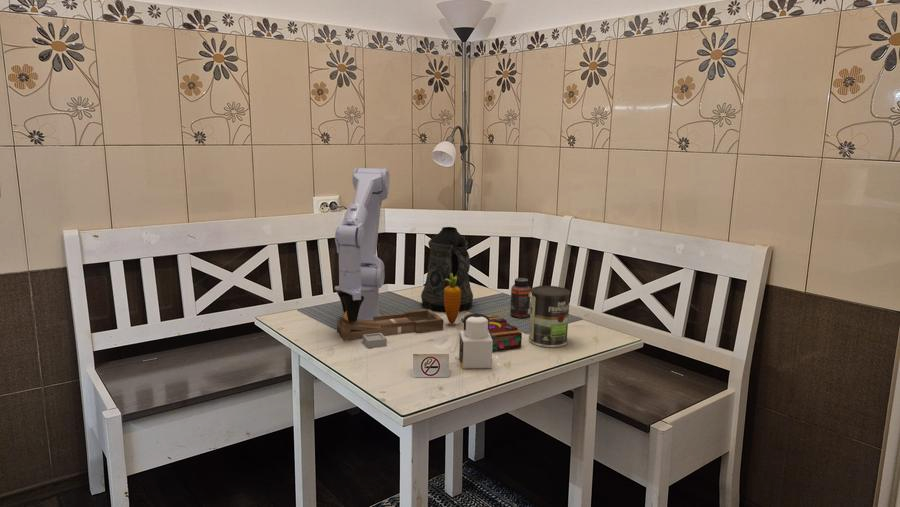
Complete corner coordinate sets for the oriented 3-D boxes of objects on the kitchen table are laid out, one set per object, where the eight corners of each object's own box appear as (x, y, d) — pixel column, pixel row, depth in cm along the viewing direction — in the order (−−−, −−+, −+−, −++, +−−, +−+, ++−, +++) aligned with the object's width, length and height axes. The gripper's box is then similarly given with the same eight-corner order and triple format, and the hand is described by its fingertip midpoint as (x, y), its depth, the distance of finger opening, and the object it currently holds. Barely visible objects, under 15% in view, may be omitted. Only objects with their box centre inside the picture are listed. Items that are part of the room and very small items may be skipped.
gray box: (362, 341, 160) (362, 334, 159) (381, 339, 162) (381, 332, 161) (367, 348, 155) (367, 341, 155) (386, 345, 157) (386, 338, 157)
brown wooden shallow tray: (335, 329, 169) (335, 315, 168) (429, 318, 180) (429, 305, 179) (344, 342, 159) (344, 327, 158) (443, 329, 170) (443, 316, 169)
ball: (342, 320, 165) (342, 308, 165) (355, 319, 167) (355, 307, 166) (345, 324, 162) (345, 311, 161) (358, 323, 163) (358, 310, 163)
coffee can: (575, 344, 161) (578, 293, 158) (543, 350, 156) (546, 297, 154) (551, 332, 170) (554, 283, 167) (521, 337, 165) (523, 287, 162)
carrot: (458, 328, 172) (459, 276, 169) (441, 326, 173) (442, 275, 170) (461, 322, 177) (463, 272, 173) (445, 321, 178) (446, 271, 174)
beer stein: (441, 295, 205) (442, 221, 199) (490, 305, 194) (493, 228, 188) (410, 306, 192) (410, 228, 186) (460, 318, 181) (462, 235, 175)
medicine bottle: (459, 357, 150) (460, 311, 148) (487, 357, 151) (489, 311, 148) (461, 369, 143) (463, 320, 141) (491, 368, 144) (493, 320, 142)
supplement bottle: (533, 316, 184) (535, 280, 181) (519, 319, 180) (520, 282, 178) (520, 311, 189) (522, 276, 186) (506, 314, 185) (507, 278, 183)
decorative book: (497, 330, 172) (498, 313, 171) (524, 350, 157) (525, 331, 156) (460, 334, 168) (461, 317, 167) (484, 355, 153) (484, 336, 152)
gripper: (329, 265, 166) (330, 312, 169) (341, 277, 153) (342, 328, 156) (354, 263, 169) (354, 310, 172) (368, 275, 156) (369, 325, 159)
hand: (350, 318), depth 164 cm, fingers closed on ball, 3 cm apart
